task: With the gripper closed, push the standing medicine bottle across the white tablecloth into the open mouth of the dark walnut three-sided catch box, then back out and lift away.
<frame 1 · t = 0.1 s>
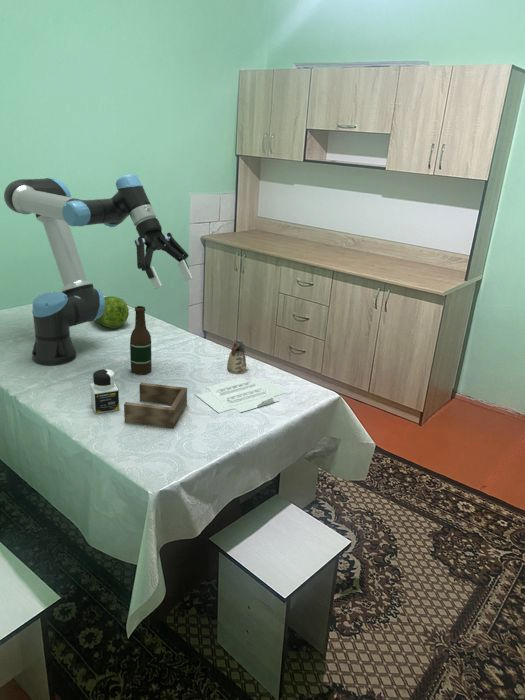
hand: (174, 283, 168), 36 cm above the table, fingers open, 13 cm apart
catch box: (155, 412, 164), on the table
figurine: (236, 370, 197), on the table
beer bottle: (141, 371, 191), on the table
tray: (241, 396, 179), on the table
medicine bottle: (105, 407, 165), on the table
lettuce: (107, 323, 234), on the table
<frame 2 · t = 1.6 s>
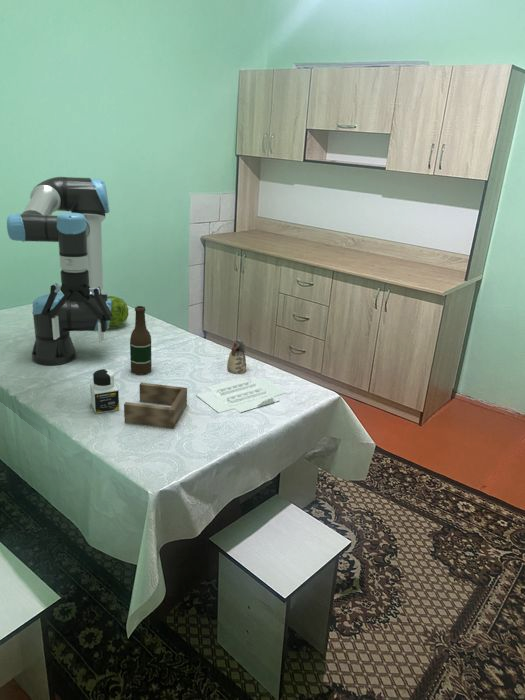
hand: (79, 340, 158), 21 cm above the table, fingers open, 13 cm apart
nothing on the table moved.
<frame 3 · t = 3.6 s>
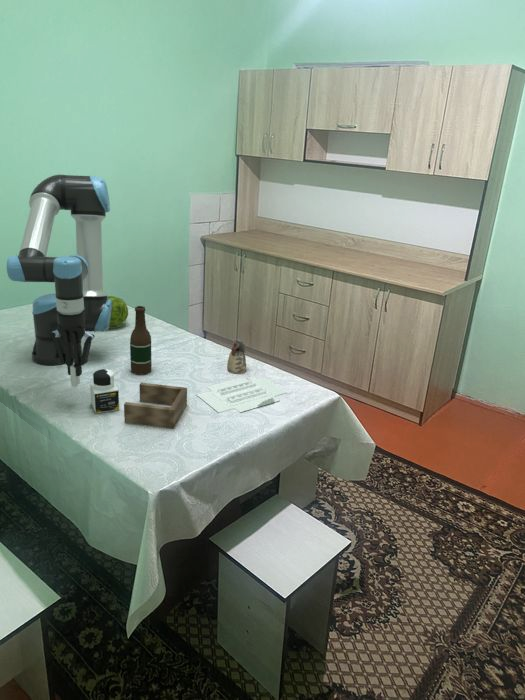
hand: (75, 384, 163), 7 cm above the table, fingers closed
nothing on the table moved.
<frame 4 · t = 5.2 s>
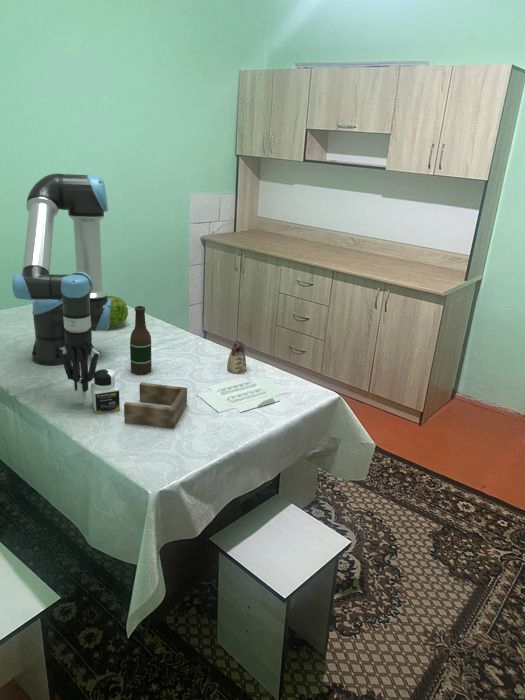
hand: (82, 399, 165), 2 cm above the table, fingers closed
medicine bottle: (105, 407, 165), on the table, touching gripper, hand
everything else where it was.
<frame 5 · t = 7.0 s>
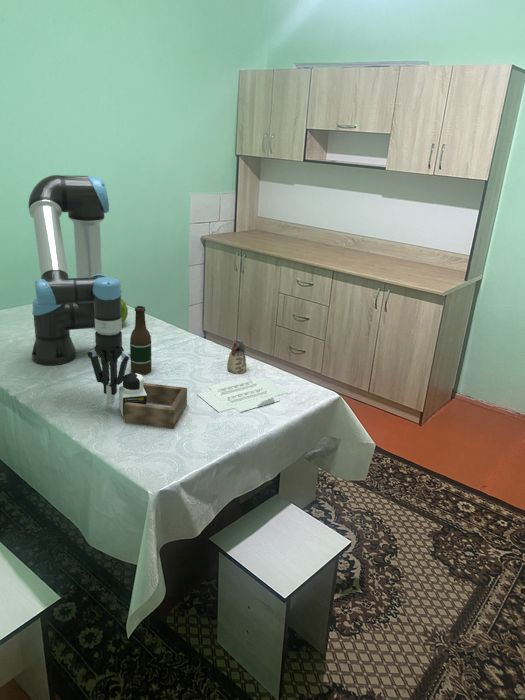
hand: (110, 403, 164), 2 cm above the table, fingers closed
medicine bottle: (132, 411, 164), on the table, touching gripper, hand
everything else where it was.
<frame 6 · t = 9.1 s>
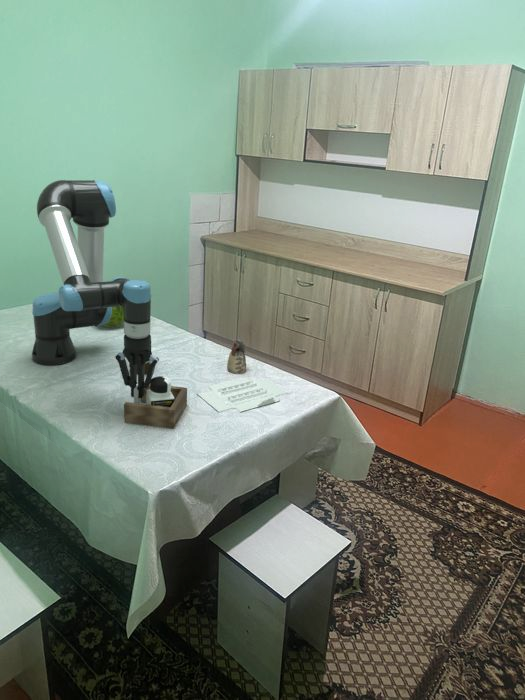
hand: (137, 406, 163), 2 cm above the table, fingers closed
medicine bottle: (159, 415, 163), on the table, touching catch box, gripper, hand
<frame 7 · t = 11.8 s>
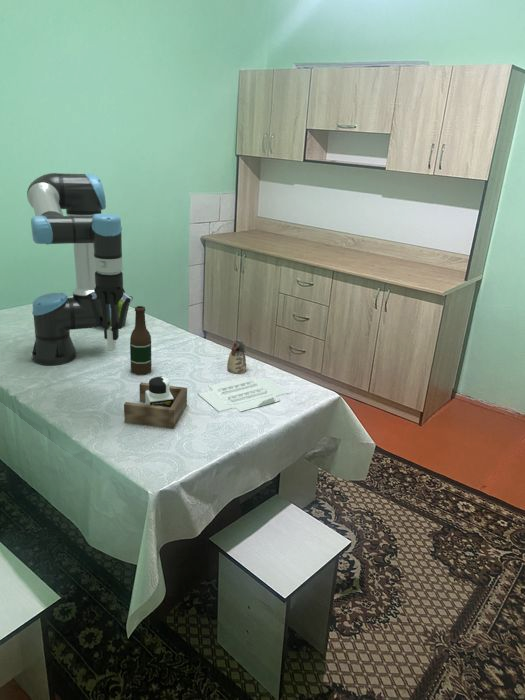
hand: (111, 349, 158), 20 cm above the table, fingers closed
medicine bottle: (159, 415, 163), on the table
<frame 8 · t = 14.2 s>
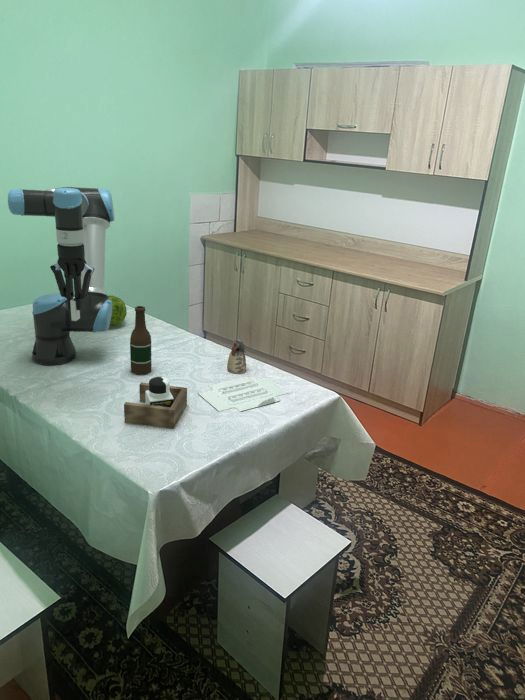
hand: (75, 319, 165), 24 cm above the table, fingers closed
at the end: medicine bottle inside the target area on the catch box (1.3 cm from its centre), point 0.0 cm above the catch box's base; medicine bottle tilted 0° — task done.
